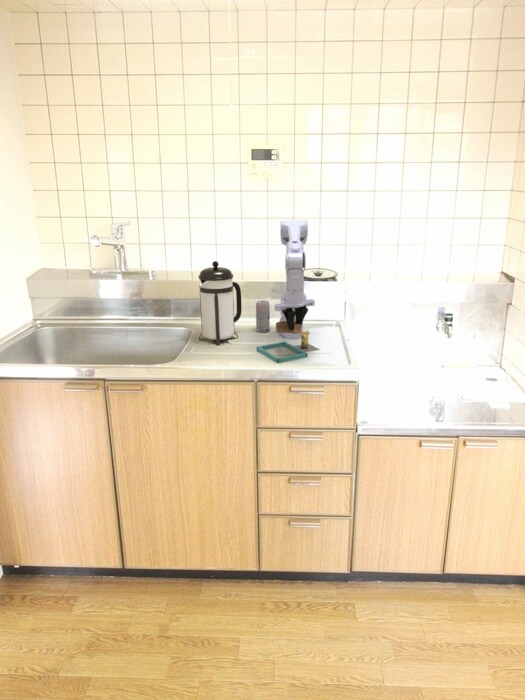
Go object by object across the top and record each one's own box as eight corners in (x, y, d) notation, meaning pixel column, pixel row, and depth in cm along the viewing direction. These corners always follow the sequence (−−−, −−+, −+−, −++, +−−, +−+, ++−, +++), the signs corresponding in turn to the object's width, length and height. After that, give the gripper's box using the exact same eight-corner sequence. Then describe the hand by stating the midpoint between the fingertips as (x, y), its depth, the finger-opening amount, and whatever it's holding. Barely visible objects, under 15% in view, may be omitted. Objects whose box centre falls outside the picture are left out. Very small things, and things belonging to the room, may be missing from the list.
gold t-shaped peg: (298, 347, 184) (298, 331, 182) (306, 346, 185) (306, 330, 183) (302, 349, 182) (302, 333, 180) (310, 348, 183) (310, 332, 181)
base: (289, 349, 185) (289, 346, 185) (307, 345, 189) (307, 343, 188) (301, 355, 178) (301, 353, 178) (320, 352, 182) (320, 349, 182)
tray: (256, 353, 182) (256, 346, 181) (284, 347, 187) (284, 341, 186) (277, 366, 169) (277, 359, 169) (307, 359, 175) (307, 353, 174)
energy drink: (270, 329, 210) (270, 300, 206) (269, 333, 205) (268, 303, 201) (257, 329, 210) (256, 300, 206) (255, 332, 205) (255, 303, 201)
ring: (272, 331, 179) (272, 322, 179) (289, 328, 183) (289, 320, 182) (289, 335, 170) (288, 326, 169) (307, 331, 173) (306, 323, 172)
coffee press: (239, 345, 190) (237, 264, 181) (196, 345, 191) (191, 264, 181) (242, 331, 207) (240, 256, 197) (202, 332, 207) (198, 257, 197)
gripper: (282, 294, 162) (282, 335, 166) (320, 288, 169) (319, 328, 173) (271, 290, 168) (271, 329, 172) (308, 285, 174) (307, 323, 179)
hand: (294, 329), depth 173 cm, fingers closed on ring, 2 cm apart
